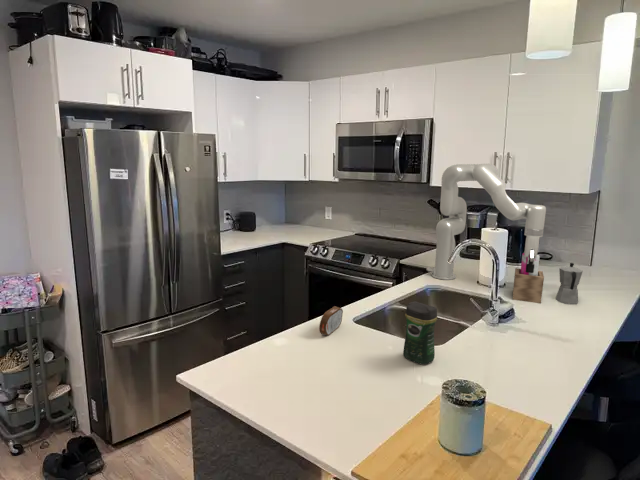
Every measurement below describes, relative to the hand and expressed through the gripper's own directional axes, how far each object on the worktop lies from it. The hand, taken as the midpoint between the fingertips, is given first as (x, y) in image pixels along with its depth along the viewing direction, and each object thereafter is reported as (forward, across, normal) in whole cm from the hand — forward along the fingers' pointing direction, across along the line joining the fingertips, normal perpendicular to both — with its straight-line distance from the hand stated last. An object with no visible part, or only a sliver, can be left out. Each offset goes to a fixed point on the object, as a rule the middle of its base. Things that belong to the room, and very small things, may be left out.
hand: (529, 270), depth 202 cm
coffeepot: (+13, -2, +17) cm, 22 cm away
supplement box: (+4, 0, 0) cm, 4 cm away
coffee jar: (+13, +83, -34) cm, 91 cm away
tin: (+14, +75, -68) cm, 102 cm away
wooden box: (+13, 0, 0) cm, 13 cm away
